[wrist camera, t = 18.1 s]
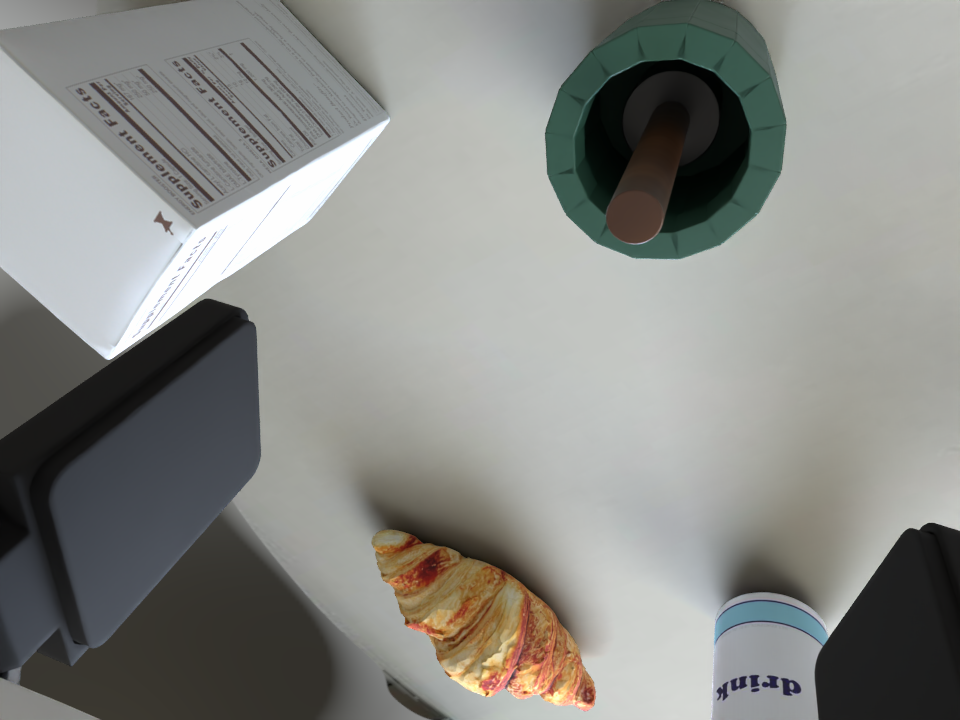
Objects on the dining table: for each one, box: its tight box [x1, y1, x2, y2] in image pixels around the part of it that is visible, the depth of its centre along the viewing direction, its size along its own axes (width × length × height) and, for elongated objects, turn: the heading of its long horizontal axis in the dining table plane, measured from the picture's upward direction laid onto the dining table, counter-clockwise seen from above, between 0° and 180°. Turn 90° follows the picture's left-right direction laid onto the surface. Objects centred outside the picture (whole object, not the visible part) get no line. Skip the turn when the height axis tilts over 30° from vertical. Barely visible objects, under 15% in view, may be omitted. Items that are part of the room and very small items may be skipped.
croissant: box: [372, 530, 596, 711], centre depth 53 cm, size 21×10×8 cm, turn 58°
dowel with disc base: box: [606, 59, 723, 244], centre depth 26 cm, size 4×4×16 cm
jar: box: [545, 0, 787, 260], centre depth 29 cm, size 8×8×10 cm
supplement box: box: [0, 0, 390, 360], centre depth 33 cm, size 10×9×17 cm
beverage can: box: [711, 592, 828, 720], centre depth 43 cm, size 7×7×12 cm
